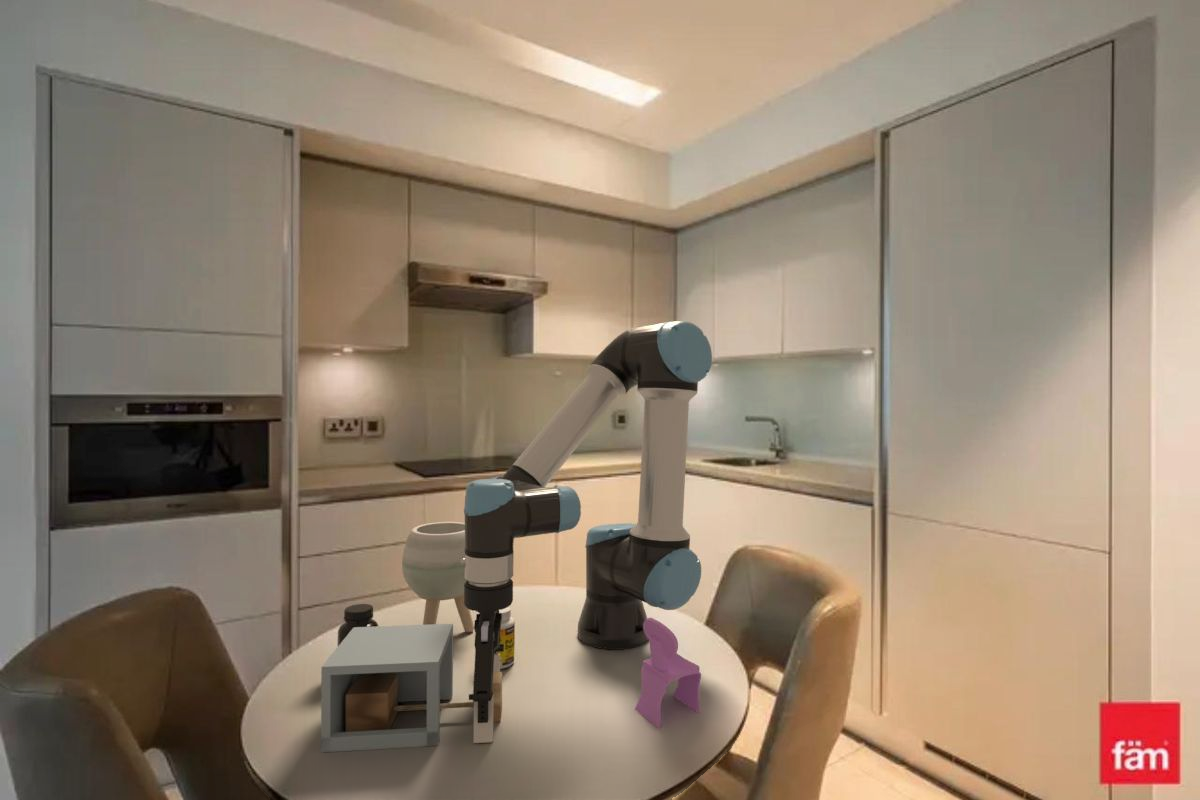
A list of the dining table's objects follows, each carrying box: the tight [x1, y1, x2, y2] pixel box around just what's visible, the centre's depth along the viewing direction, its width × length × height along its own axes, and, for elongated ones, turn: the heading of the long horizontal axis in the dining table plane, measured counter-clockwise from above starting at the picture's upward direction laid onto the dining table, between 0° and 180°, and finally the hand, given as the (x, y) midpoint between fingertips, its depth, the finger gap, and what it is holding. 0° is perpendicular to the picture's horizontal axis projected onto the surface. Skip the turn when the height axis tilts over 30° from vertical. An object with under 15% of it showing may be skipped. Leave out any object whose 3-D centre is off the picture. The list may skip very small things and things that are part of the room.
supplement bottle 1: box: [336, 603, 379, 648], centre depth 103 cm, size 7×7×12 cm
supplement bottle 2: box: [496, 606, 516, 670], centre depth 108 cm, size 6×6×10 cm
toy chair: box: [634, 617, 702, 729], centre depth 92 cm, size 8×9×15 cm
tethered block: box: [345, 671, 503, 732], centre depth 89 cm, size 22×6×6 cm, turn 96°
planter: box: [401, 521, 475, 633], centre depth 121 cm, size 16×16×22 cm
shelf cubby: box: [320, 623, 454, 753], centre depth 88 cm, size 16×14×12 cm
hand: (487, 715), depth 90 cm, fingers open, 13 cm apart
